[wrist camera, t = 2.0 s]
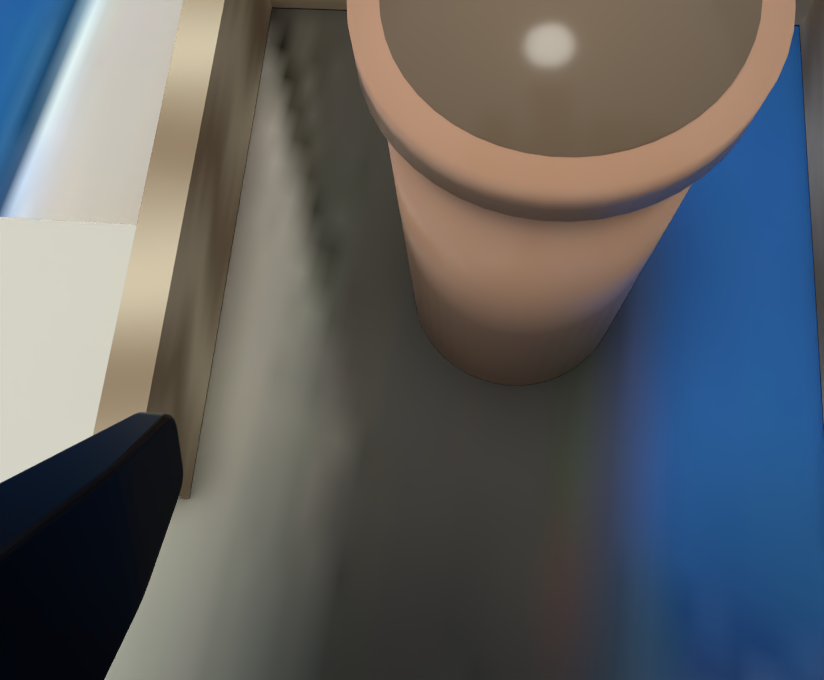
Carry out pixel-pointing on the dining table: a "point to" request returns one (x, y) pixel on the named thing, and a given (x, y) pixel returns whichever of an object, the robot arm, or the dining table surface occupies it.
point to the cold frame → (219, 199)
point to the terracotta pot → (551, 153)
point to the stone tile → (55, 331)
